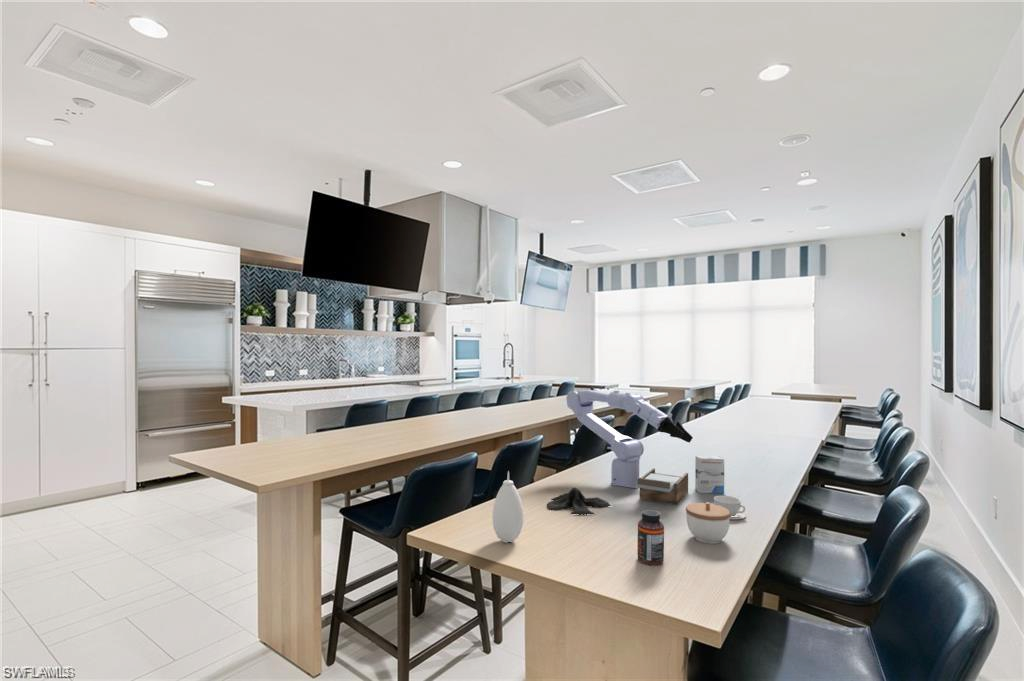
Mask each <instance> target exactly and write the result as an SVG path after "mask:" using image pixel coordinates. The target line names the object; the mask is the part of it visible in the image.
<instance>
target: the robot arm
mask: <svg viewBox="0 0 1024 681" xmlns="http://www.w3.org/2000/svg"><path fill="white" fill-rule="evenodd" d="M594 402H600V403H601V402H602V403H607V405H608V406H609V407H611V408H614V409H615V408H616V409H620V410H624V411H625V412H626V413H633V414H635V415H636V416H637V417H638V418H640V419H642V420H644V421H645V422H646V423H648V424H649V425H651V426H652V427H654V428H655V429H656V430H657V432H660V433H666V434H668V435H669V437H671V438H677V439H679V440H680V439H681V440H682V441H684V442H687V443H689V444H690V443H691V441H692V440H693V438H694V437H693V436H692V434H690V433H689V432H688V431H687V430H686V429H685V427H684V426H683V425H682V423H681V422H679V421H676V423H674V421H673V418H672V417H673V413H671V412H668V413H667V414H666V413H664V412H663V411H662V410H660V409H658V408H657V407H655V406H654V405H652V404H651V403H649V402H648V401H645V398H644V397H643V396H642V395H641V394H639V393H636V394H631V393H630V392H625V393H624V392H620V390H617V389H616V390H614V391H610V392H609V393H606V392H602V391H597V390H593V389H584V390H575V391H574V390H571V391H569V392H568V393H567V395H566V404H567V407H568V408H569V409H570V410H572V413H573V414H574V415H575V417H576V418H577V420H578V421H579V423H581V424H583V426H585V427H586V428H588V430H590V431H592V432H593V433H594V434H596V435H597V436H598V437H600V438H601V439H602V440H604V441H605V442H606V443H607V444H608V445H610V451H612V452H613V453H614V454H615V456H616V457H615V458H613V459H612V462H611V476H610V477H611V478H610V479H611V482H610V485H612V486H617V485H618V486H619V487H624V488H625V487H626V488H631V489H639V488H638V487H637V483H638V478H640V460H641V457H642V456H643V454H644V449H645V448H644V444H643V443H642V441H641V440H639V439H635V438H632V437H630V436H628V435H624V434H622V433H620V432H619V431H617V430H616V429H614V428H613V427H612V426H610V425H609V424H607V423H606V422H605V421H604V420H602V419H601V418H600V417H598V416H597V415H595V414H593V412H594Z"/></svg>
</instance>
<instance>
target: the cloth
mask: <svg viewBox="0 0 1024 681" xmlns="http://www.w3.org/2000/svg"><path fill="white" fill-rule="evenodd" d="M550 500H551V501H548V502H547V504H546V506H547V510H548V511H550V510H551V511H552V510H554V511H562V510H561V509H566V510H568V509H573V511H572V512H570V513H571V514H579V515H578V516H588V515H587V514H594V512H593V511H591V510H589V509H588V508H589V507H587V506H592V507H591V508H601V507H603V508H609V507H608V506H612V505H611V504H610V503H609V502H608V501H607V500H605V499H602V498H600V497H594V496H593V497H585V496H584V495H583V493H582V492H581V490H580V489H578V488H577V487H572V488H571V489H570V490H569V491H568V492H565V493H562V494H559V495H558V496H555V497H553V498H550ZM552 500H553V501H552ZM571 507H572V508H571ZM551 511H550V512H551ZM571 514H570V515H571ZM581 514H583V515H581ZM584 514H586V515H584ZM594 515H595V514H594Z"/></svg>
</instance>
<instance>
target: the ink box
mask: <svg viewBox="0 0 1024 681" xmlns="http://www.w3.org/2000/svg"><path fill="white" fill-rule="evenodd" d="M694 462H695V463H694V464H695V470H694V472H695V474H694V475H695V480H694V483H695V484H694V486H695V487H694V489H695V490H696V491H697V493H699V494H721V493H722V494H723V495H724V494H725V458H722V457H721V456H715V455H714V456H713V455H711V456H709V455H695V461H694Z"/></svg>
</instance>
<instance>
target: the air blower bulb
mask: <svg viewBox="0 0 1024 681" xmlns="http://www.w3.org/2000/svg"><path fill="white" fill-rule="evenodd" d="M523 524H524V507H523V502H522V499H521V496H520V493H519V491H518V489H517V488H516V486H515V485H514V481H513V480H511V479H510V471H509V470H508V471H507V478H506V480H504V481H503V482H502V485H501V486H500V488H499V490H498V491H497V494H496V496H495V500H494V502H493V508H492V526H493V530H494V533H495V535H496V537H497V538H498V539H500V541H501V542H503V543H505V542H511V543H512V542H514V541H516V540H517V538H518V537H519V536H520V534H521V532H522V528H523Z"/></svg>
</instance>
